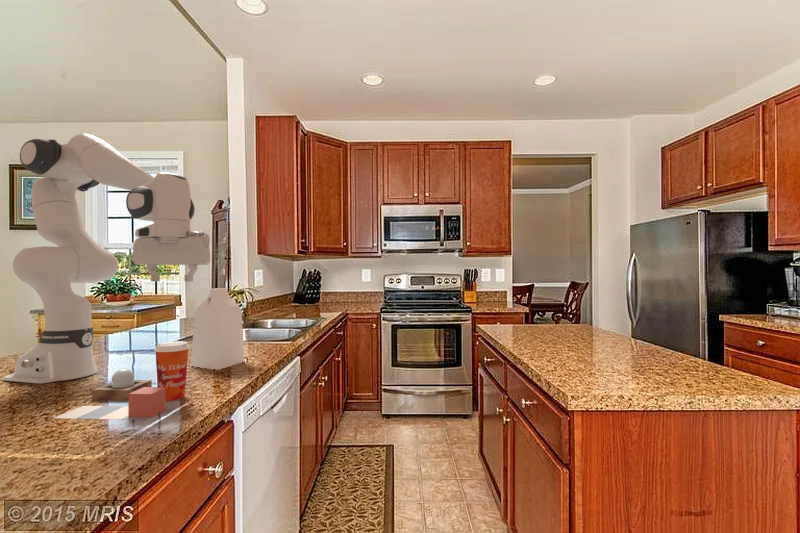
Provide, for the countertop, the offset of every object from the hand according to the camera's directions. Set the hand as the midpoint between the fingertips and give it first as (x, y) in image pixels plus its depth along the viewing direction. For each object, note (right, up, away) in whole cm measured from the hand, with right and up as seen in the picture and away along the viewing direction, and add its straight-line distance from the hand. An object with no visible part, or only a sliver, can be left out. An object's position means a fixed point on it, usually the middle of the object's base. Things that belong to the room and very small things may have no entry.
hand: (171, 281), depth 113 cm
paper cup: (+6, -29, -11) cm, 32 cm away
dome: (-7, -28, -9) cm, 31 cm away
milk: (+1, -30, +27) cm, 40 cm away
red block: (+7, -28, -23) cm, 37 cm away
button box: (-7, -29, -9) cm, 31 cm away
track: (-1, -29, -22) cm, 36 cm away
